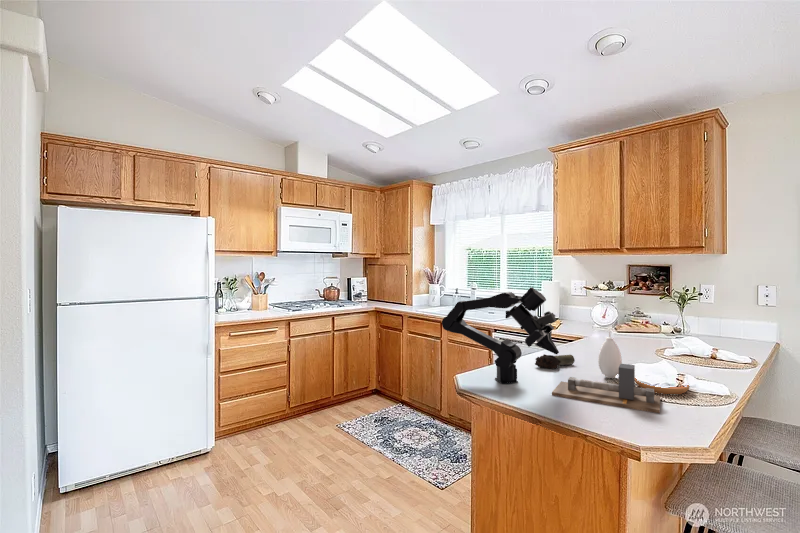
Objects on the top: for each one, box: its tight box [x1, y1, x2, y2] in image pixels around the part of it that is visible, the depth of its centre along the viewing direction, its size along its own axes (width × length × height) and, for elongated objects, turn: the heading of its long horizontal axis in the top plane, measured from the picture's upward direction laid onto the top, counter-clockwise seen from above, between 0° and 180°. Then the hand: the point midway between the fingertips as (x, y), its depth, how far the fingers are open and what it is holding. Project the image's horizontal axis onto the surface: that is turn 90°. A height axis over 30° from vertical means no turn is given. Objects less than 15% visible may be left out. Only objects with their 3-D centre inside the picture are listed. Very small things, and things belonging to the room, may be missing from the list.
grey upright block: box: [618, 363, 636, 400], centre depth 125 cm, size 4×6×10 cm
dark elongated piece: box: [534, 354, 576, 370], centre depth 167 cm, size 18×7×6 cm, turn 109°
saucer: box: [635, 378, 690, 395], centre depth 137 cm, size 16×16×3 cm
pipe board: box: [551, 376, 661, 414], centre depth 129 cm, size 30×14×5 cm, turn 56°
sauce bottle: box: [597, 330, 623, 379], centre depth 150 cm, size 8×8×18 cm
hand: (557, 353), depth 137 cm, fingers closed
